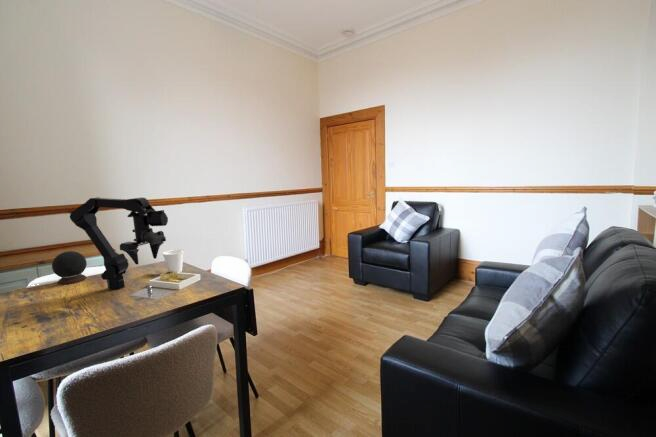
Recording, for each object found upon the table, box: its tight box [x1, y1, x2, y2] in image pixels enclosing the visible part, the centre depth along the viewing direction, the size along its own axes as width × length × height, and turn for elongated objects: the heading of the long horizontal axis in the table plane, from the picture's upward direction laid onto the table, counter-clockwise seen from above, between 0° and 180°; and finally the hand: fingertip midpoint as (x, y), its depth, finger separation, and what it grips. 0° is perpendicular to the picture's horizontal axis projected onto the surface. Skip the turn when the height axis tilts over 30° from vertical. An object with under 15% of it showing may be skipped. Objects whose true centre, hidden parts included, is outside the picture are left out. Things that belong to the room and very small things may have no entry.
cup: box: [162, 249, 185, 273], centre depth 162 cm, size 10×10×11 cm
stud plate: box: [129, 285, 175, 300], centre depth 132 cm, size 16×9×4 cm, turn 71°
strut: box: [159, 270, 187, 283], centre depth 144 cm, size 12×5×5 cm, turn 71°
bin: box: [148, 272, 201, 290], centre depth 144 cm, size 17×13×4 cm
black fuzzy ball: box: [51, 250, 88, 286], centre depth 154 cm, size 13×13×15 cm
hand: (146, 261), depth 139 cm, fingers open, 9 cm apart
